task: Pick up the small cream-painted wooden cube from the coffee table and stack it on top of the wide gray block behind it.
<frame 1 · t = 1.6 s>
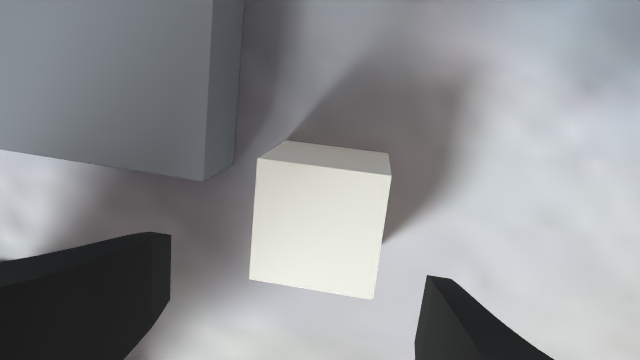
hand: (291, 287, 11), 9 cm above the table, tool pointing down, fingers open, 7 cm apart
gray block: (146, 51, 20), on the table
cream cube: (330, 195, 20), on the table
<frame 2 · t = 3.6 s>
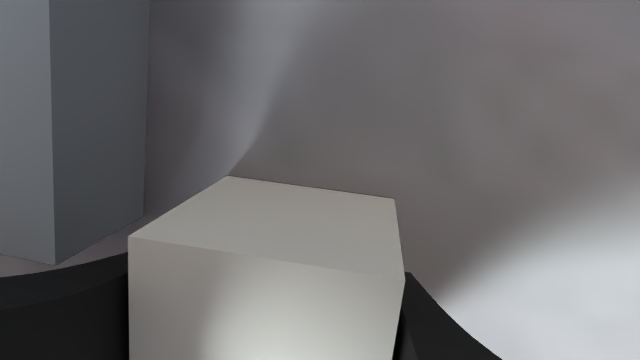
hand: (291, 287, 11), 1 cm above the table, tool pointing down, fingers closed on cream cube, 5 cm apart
gray block: (2, 31, 13), on the table
cream cube: (300, 264, 13), on the table, touching gripper
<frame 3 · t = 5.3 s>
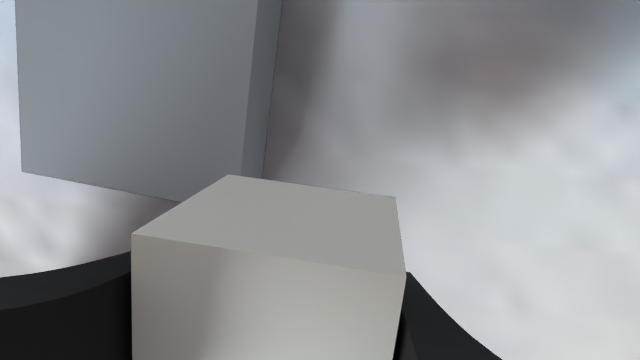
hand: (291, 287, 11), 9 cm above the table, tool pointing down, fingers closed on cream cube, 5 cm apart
gray block: (176, 75, 20), on the table
cream cube: (301, 263, 13), point 8 cm above the table, touching gripper
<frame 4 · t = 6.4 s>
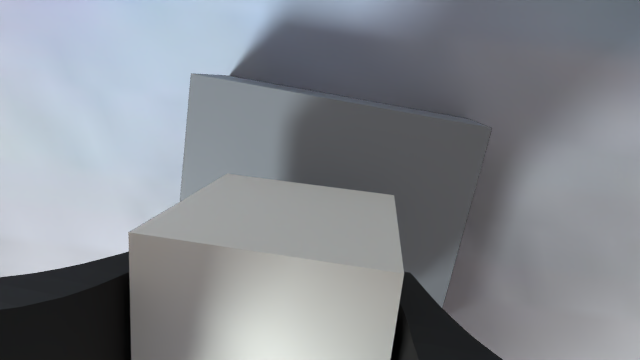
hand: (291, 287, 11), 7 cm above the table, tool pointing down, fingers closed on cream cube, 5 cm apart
gray block: (325, 207, 18), on the table
cream cube: (301, 262, 13), point 6 cm above the table, touching gripper
when the fingers open (7 cm above the table, at t = 7.3 s): cream cube drops 2 cm, resting on gray block.
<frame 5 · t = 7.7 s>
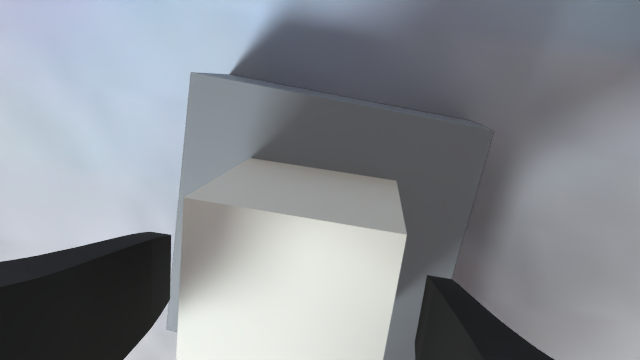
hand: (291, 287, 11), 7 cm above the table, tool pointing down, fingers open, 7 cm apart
gray block: (325, 208, 18), on the table, touching cream cube
cream cube: (313, 237, 14), point 4 cm above the table, touching gray block
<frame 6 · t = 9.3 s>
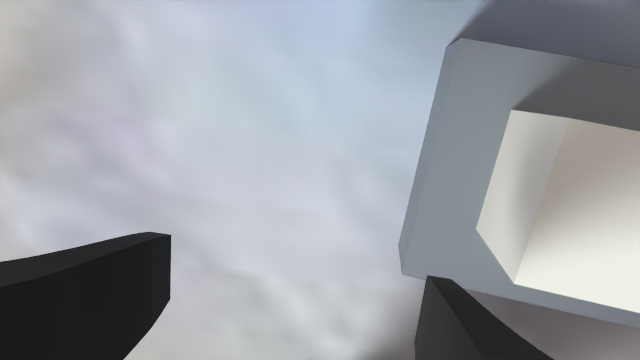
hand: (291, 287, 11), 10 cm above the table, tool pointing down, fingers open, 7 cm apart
gray block: (521, 170, 20), on the table, touching cream cube
cream cube: (556, 184, 16), point 4 cm above the table, touching gray block
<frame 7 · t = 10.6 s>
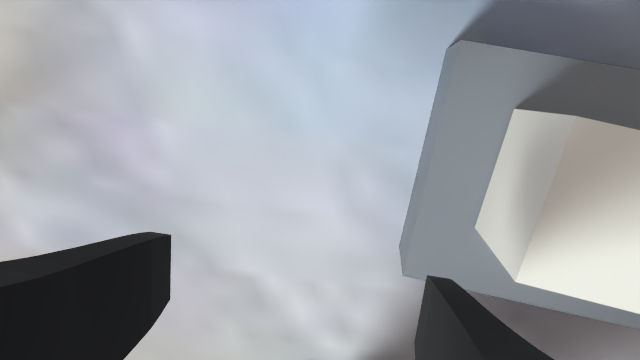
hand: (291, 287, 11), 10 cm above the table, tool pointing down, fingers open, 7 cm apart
gray block: (521, 171, 20), on the table, touching cream cube
cream cube: (556, 185, 16), point 4 cm above the table, touching gray block
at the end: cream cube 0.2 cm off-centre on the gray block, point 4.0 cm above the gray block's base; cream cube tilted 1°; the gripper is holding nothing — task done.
